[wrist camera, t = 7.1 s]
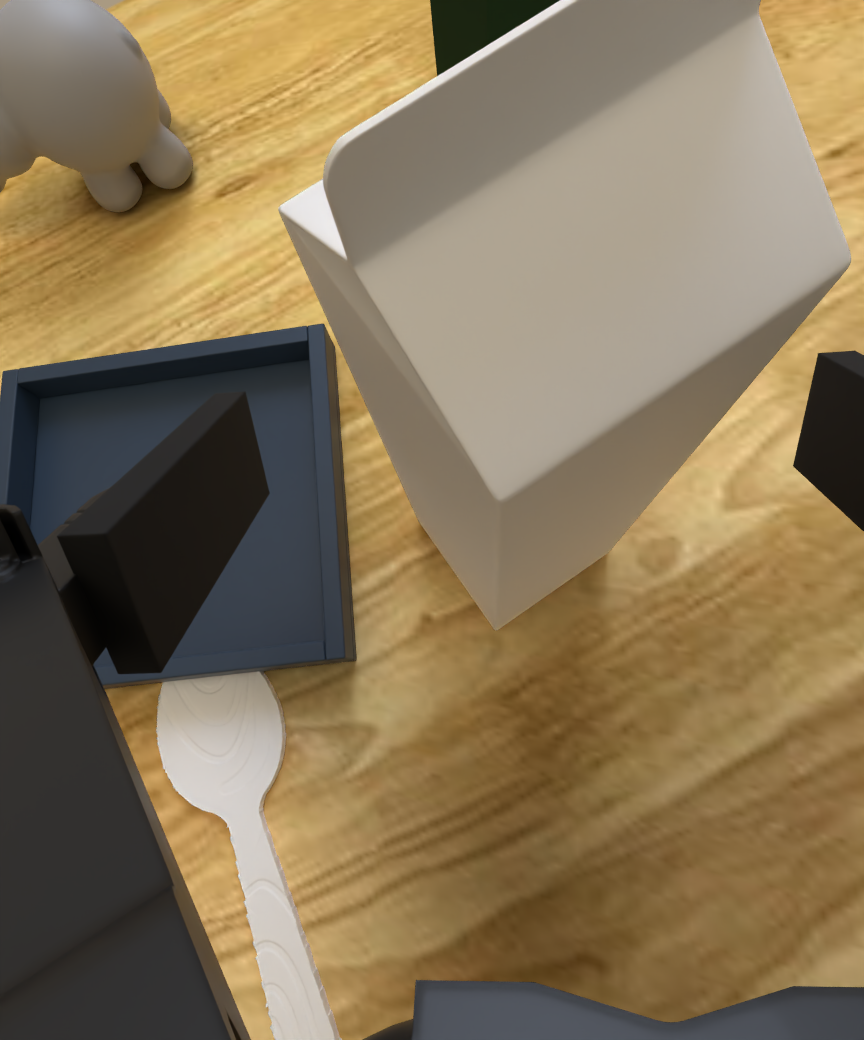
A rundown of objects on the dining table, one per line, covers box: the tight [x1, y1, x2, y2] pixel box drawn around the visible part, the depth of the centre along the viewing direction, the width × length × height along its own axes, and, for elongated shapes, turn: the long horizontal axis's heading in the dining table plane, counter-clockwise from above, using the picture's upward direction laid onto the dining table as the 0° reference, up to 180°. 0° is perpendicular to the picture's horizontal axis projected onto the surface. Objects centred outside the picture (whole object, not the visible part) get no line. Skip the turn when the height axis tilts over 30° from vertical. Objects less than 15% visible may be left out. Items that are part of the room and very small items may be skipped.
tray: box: [0, 324, 356, 689], centre depth 28 cm, size 16×15×2 cm
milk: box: [279, 0, 851, 631], centre depth 17 cm, size 6×6×22 cm
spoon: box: [156, 671, 342, 1040], centre depth 25 cm, size 5×18×1 cm, turn 22°
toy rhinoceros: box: [0, 0, 193, 212], centre depth 31 cm, size 7×12×8 cm, turn 112°
